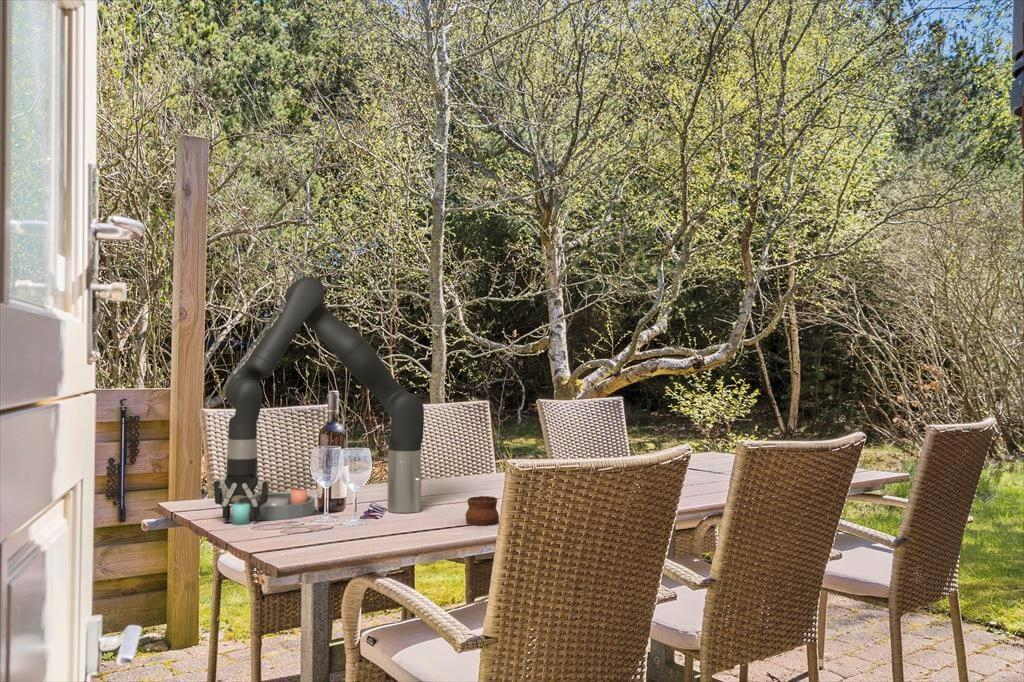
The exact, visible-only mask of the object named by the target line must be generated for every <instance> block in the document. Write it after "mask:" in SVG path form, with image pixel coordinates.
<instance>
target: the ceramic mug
mask: <svg viewBox="0 0 1024 682" xmlns="http://www.w3.org/2000/svg"><path fill="white" fill-rule="evenodd" d="M226 477H227V474H226V475H225V476H224V477H223V478H221V480H225V479H226ZM228 491H229V489H228V488H227V486H226V485H225V484H224V487H223V488H222V498H224V499H225V497H226V495H227V493H228ZM240 497H245V496H242V495H238V496H234V497H233V498H232V500H231V501H230V503H231V504H234V501H235V500H236V499H238V498H240Z"/></svg>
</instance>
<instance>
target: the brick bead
mask: <svg viewBox="0 0 1024 682" xmlns="http://www.w3.org/2000/svg"><path fill="white" fill-rule="evenodd" d="M290 493H291V505H294V504H301V503H304V502H307V495H308V489H306V488H294V489H291V490H290Z"/></svg>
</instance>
